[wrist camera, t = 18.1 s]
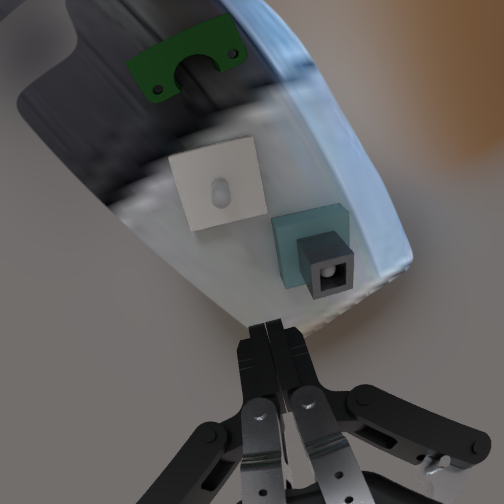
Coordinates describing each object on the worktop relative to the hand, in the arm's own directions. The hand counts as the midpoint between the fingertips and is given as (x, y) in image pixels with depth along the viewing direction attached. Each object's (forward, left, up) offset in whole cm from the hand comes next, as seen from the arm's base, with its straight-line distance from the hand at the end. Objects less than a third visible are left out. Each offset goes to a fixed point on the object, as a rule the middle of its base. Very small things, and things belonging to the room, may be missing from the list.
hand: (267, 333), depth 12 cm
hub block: (+11, +9, -25) cm, 29 cm away
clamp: (-16, -1, -25) cm, 30 cm away
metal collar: (+11, +9, -22) cm, 26 cm away
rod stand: (0, -1, -25) cm, 25 cm away
